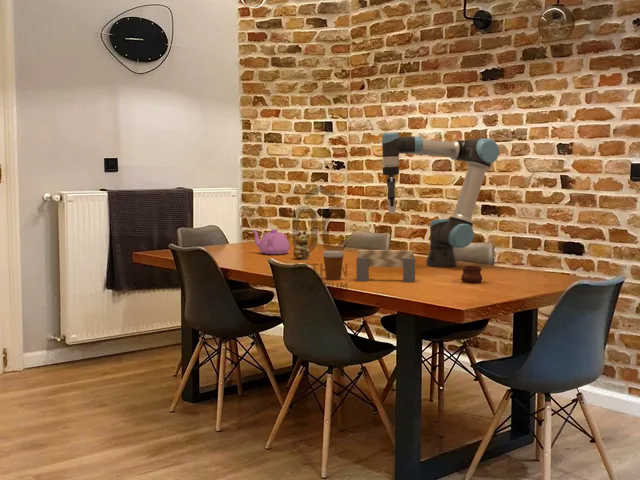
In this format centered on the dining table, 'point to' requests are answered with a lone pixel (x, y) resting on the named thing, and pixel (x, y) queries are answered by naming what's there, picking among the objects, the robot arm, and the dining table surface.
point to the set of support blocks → (408, 269)
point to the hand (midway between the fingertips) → (391, 212)
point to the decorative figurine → (301, 246)
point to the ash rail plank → (385, 257)
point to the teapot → (272, 242)
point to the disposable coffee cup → (333, 264)
